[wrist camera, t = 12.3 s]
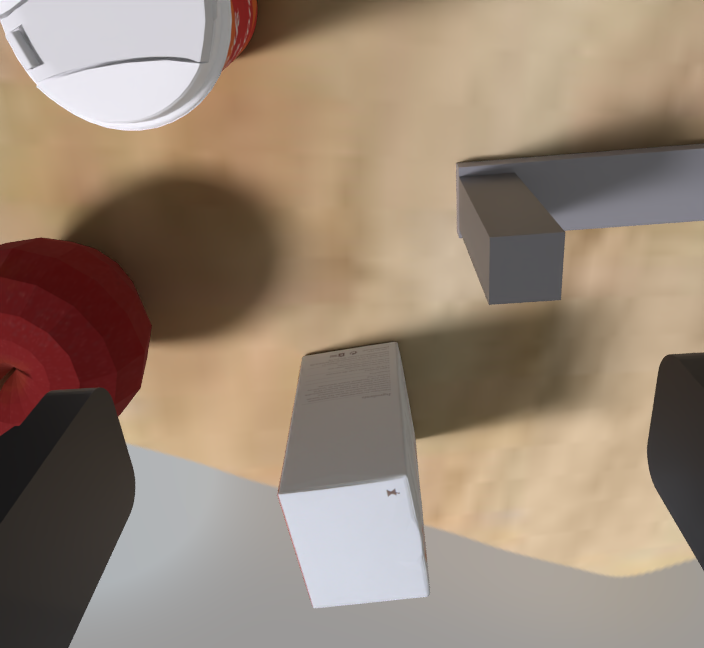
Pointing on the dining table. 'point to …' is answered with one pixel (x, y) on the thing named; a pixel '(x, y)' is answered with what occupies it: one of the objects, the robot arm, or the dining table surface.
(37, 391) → the apple
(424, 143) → the dining table surface
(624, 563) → the dining table surface
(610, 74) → the dining table surface
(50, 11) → the paper cup
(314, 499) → the small box
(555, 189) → the grey l-shaped bracket
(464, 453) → the dining table surface
